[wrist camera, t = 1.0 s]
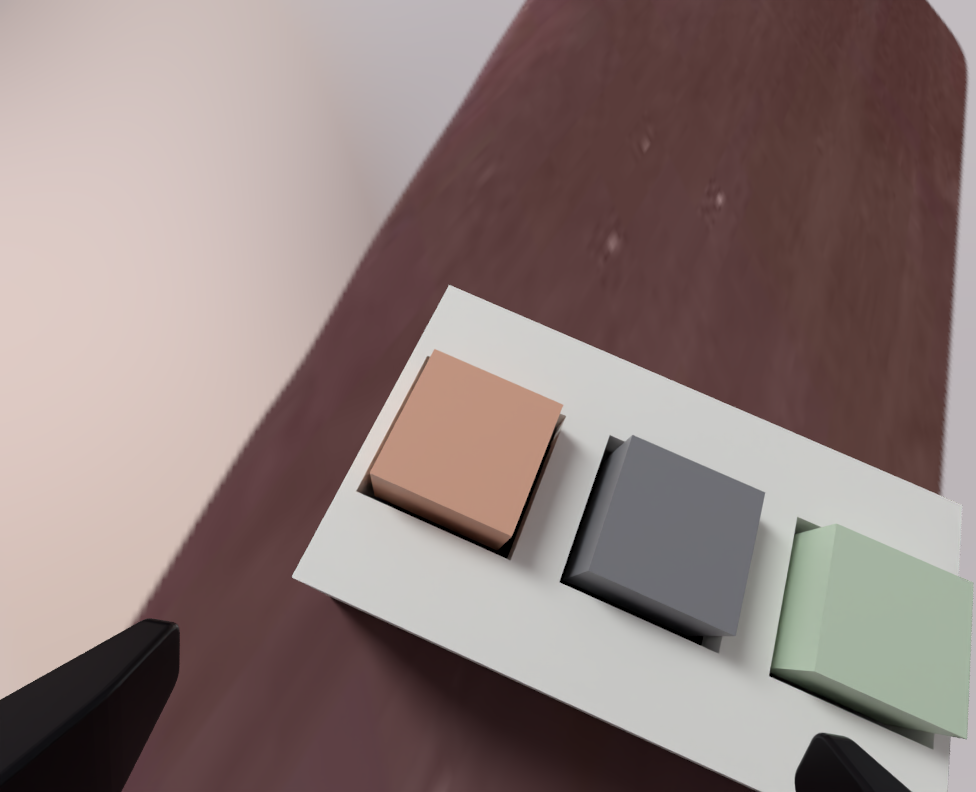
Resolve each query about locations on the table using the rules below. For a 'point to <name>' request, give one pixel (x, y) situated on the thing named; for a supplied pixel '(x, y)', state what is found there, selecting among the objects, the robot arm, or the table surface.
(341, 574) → the button console
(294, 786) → the table surface
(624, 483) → the charcoal button
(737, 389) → the table surface
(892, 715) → the sage-green button
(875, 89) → the table surface
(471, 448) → the terracotta button
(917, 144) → the table surface
